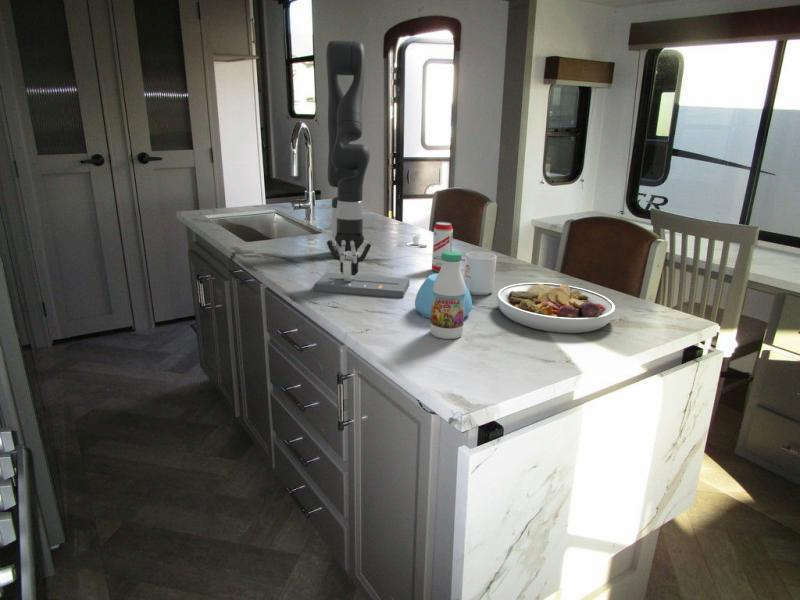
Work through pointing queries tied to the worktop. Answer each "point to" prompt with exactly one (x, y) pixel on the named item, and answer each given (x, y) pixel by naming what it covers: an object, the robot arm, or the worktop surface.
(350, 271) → the fader tab
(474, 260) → the mug
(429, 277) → the sugar bowl
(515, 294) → the bowl
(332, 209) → the robot arm
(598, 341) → the worktop surface
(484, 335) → the worktop surface
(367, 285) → the slider console
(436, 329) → the milk bottle
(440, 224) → the beer can
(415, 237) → the teacup and saucer
